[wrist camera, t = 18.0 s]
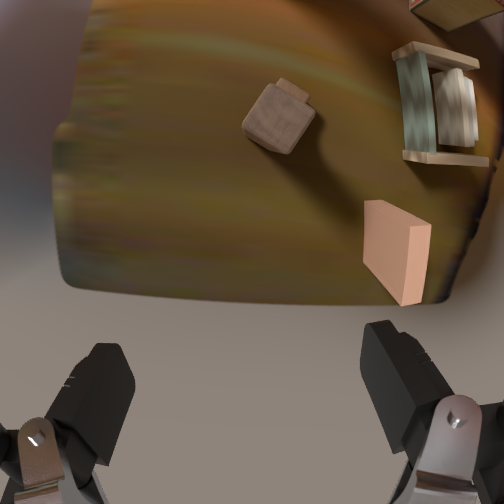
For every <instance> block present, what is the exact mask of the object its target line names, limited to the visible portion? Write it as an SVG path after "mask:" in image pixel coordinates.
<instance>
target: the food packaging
mask: <svg viewBox="0 0 504 504" xmlns="http://www.w3.org/2000/svg"><path fill="white" fill-rule="evenodd" d="M409 11H410V12H412V13H414V14H416V15H417V16H419V17H421V18H423V19H425V20H427V21H429V22H431V23H432V24H434V25H436V26H438V27H439V28H441V29H443V30H444V31H446V32H451V31H454V30H456V29H459V28H461V27H463V26H465V25H468V24H470V23H473V22H475V21H478V20H481V19H483V18H486V17H489V16H492V15H495V14H497V13H500V12H504V0H409Z"/></svg>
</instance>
